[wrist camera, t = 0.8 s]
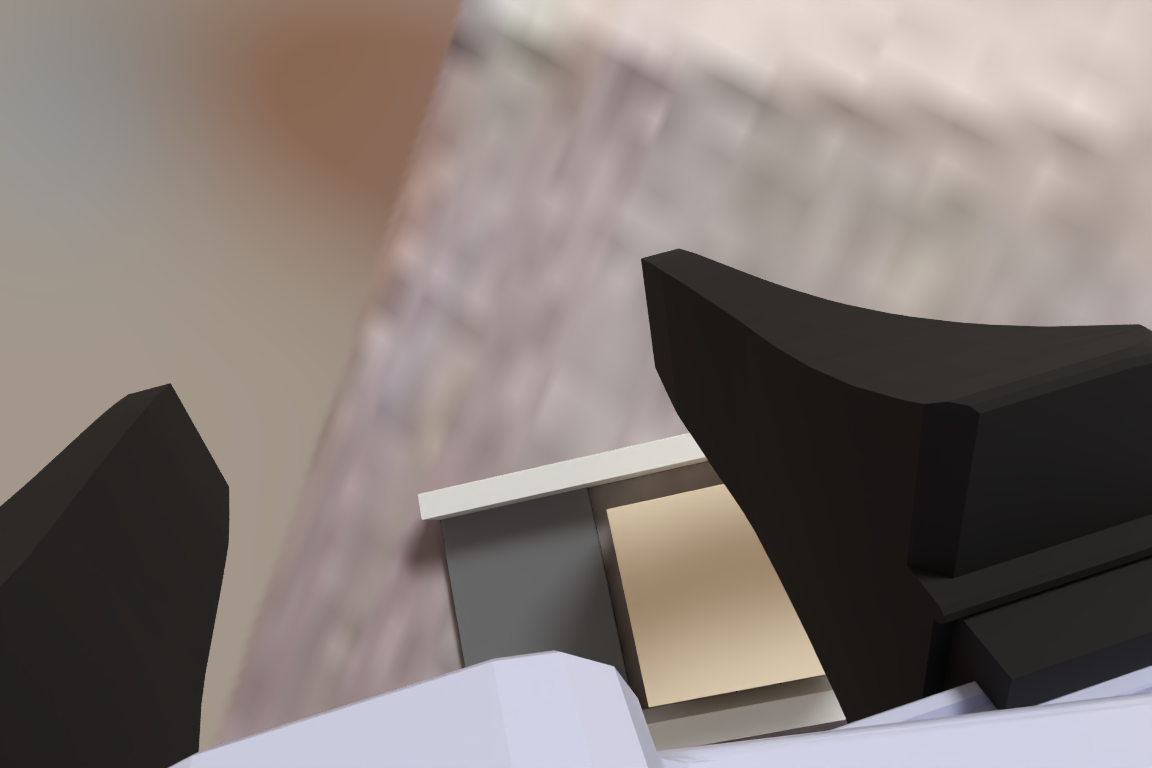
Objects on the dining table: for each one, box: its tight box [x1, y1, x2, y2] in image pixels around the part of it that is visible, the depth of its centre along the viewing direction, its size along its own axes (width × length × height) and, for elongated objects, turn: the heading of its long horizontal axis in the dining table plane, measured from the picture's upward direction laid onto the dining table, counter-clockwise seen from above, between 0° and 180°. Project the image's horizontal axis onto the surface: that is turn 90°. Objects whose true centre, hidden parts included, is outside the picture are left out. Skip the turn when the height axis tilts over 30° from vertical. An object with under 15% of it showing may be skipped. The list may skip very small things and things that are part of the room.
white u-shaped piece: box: [418, 433, 846, 751], centre depth 24 cm, size 9×19×2 cm, turn 102°
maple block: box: [607, 484, 825, 707], centre depth 22 cm, size 5×6×5 cm
